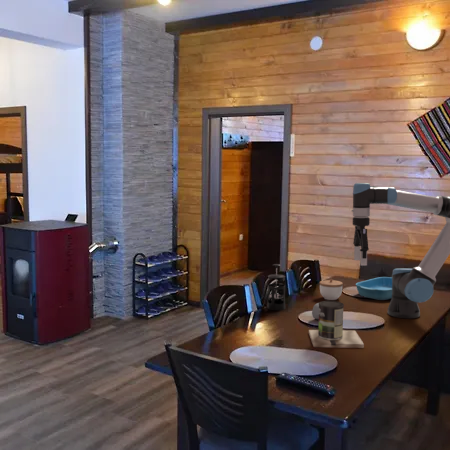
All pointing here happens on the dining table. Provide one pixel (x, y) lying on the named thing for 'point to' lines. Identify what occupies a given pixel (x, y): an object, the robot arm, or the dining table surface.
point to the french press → (280, 296)
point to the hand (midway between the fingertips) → (360, 262)
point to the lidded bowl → (331, 289)
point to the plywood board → (347, 341)
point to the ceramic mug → (315, 311)
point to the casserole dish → (376, 288)
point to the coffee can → (330, 320)
